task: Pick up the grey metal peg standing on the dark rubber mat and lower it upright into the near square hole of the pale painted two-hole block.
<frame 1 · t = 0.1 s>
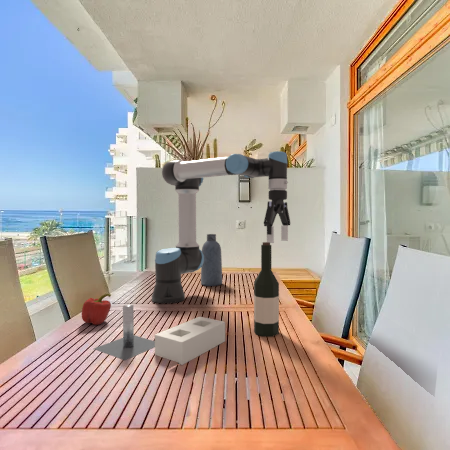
hand: (277, 241, 138), 28 cm above the table, fingers open, 13 cm apart
vegetable: (97, 323, 123), on the table
block: (192, 348, 99), on the table
wine bottle: (266, 333, 112), on the table
peg: (128, 346, 99), resting on mat
mat: (128, 347, 99), on the table
blue-grey bottle: (211, 284, 190), on the table
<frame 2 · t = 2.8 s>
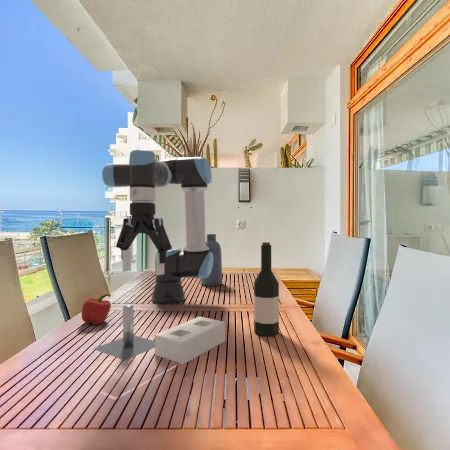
hand: (143, 272, 101), 22 cm above the table, fingers open, 13 cm apart
nothing on the table moved.
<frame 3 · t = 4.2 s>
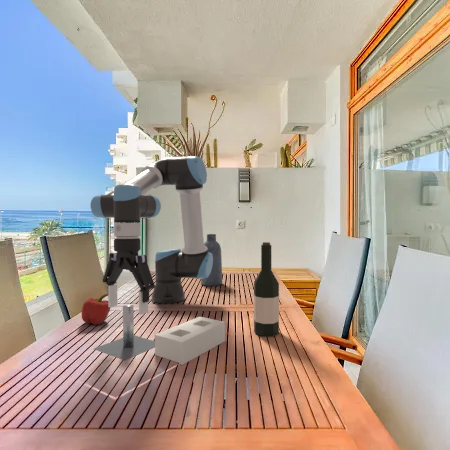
hand: (127, 309, 99), 11 cm above the table, fingers open, 13 cm apart
nothing on the table moved.
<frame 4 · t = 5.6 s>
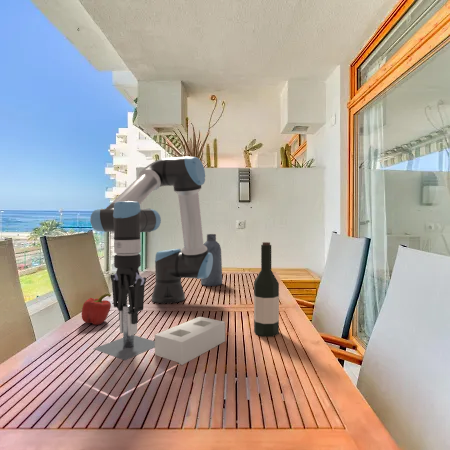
hand: (128, 332, 99), 4 cm above the table, fingers closed on peg, 3 cm apart
peg: (128, 346, 99), resting on mat, touching gripper
everything else where it was.
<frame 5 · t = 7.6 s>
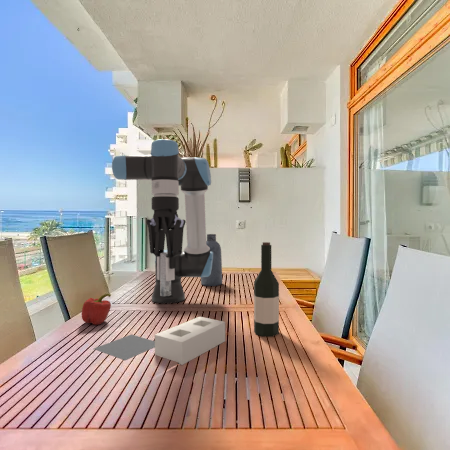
hand: (165, 279, 95), 21 cm above the table, fingers closed on peg, 3 cm apart
peg: (165, 295, 95), point 17 cm above the table, touching gripper
everything else where it was.
when the fingers open (7 cm above the table, at t = 10.0 s): peg drops 3 cm, resting in block.
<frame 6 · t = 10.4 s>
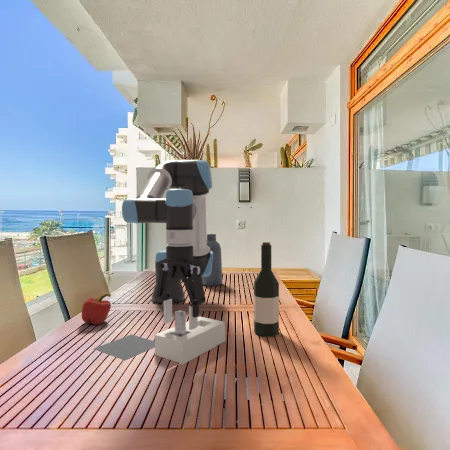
hand: (180, 325, 94), 8 cm above the table, fingers open, 9 cm apart
peg: (180, 354, 94), resting in block
everything else where it was.
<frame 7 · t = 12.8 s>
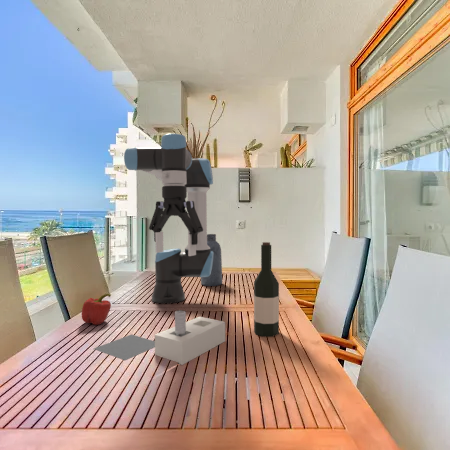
hand: (175, 253, 105), 27 cm above the table, fingers open, 13 cm apart
nothing on the table moved.
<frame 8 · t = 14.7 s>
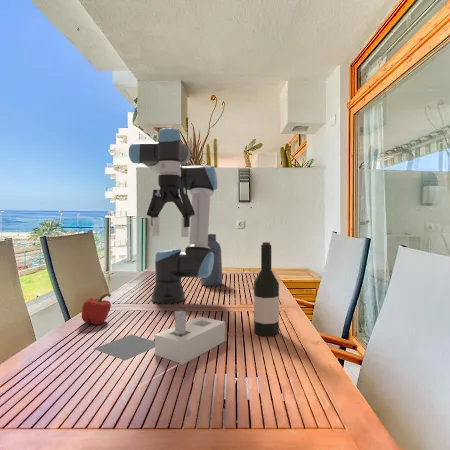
hand: (169, 236, 116), 32 cm above the table, fingers open, 13 cm apart
nothing on the table moved.
at the end: peg 0.0 cm from the target spot on the block, point 0.0 cm above the block's base; peg tilted 0°; the gripper is holding nothing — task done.
